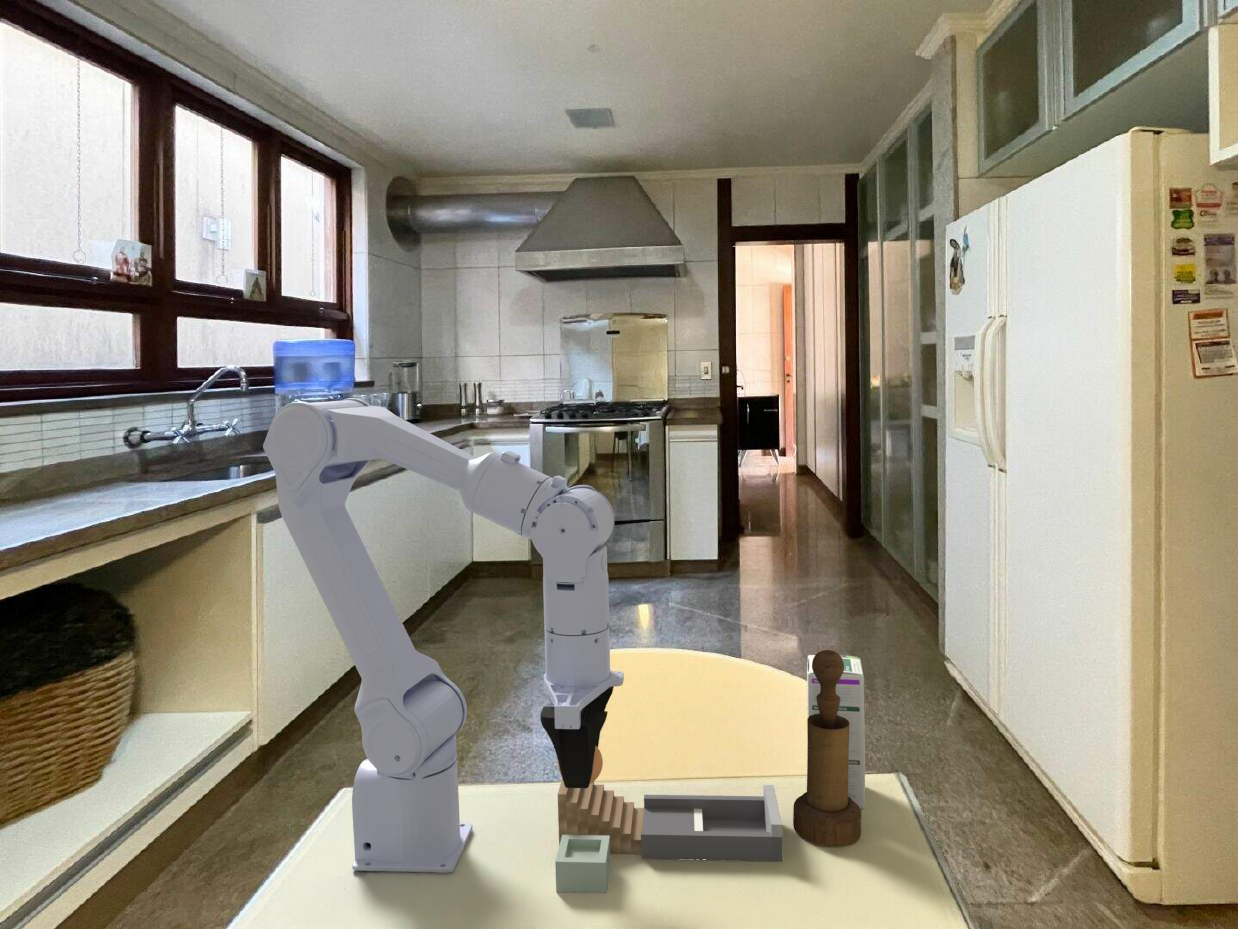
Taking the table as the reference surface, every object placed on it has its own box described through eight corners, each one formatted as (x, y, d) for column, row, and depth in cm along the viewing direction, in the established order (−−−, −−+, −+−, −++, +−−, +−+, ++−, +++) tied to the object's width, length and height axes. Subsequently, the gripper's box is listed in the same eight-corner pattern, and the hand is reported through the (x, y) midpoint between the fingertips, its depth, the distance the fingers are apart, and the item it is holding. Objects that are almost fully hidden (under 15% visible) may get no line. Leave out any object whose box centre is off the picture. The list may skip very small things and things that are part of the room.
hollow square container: (556, 892, 76) (555, 861, 76) (563, 863, 80) (562, 834, 80) (606, 893, 76) (605, 862, 75) (610, 864, 80) (609, 835, 80)
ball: (555, 794, 76) (554, 750, 75) (562, 773, 80) (560, 731, 79) (600, 795, 76) (599, 751, 75) (605, 774, 80) (604, 732, 79)
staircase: (559, 852, 82) (557, 794, 81) (567, 820, 88) (566, 765, 87) (641, 854, 81) (640, 795, 81) (644, 821, 87) (643, 766, 87)
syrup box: (866, 811, 89) (867, 673, 87) (807, 806, 90) (807, 670, 88) (862, 784, 94) (863, 655, 93) (806, 780, 95) (806, 652, 94)
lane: (641, 859, 81) (640, 822, 80) (644, 817, 88) (644, 783, 88) (782, 861, 80) (782, 824, 79) (773, 819, 87) (773, 785, 87)
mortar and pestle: (876, 837, 83) (878, 656, 82) (822, 855, 81) (823, 668, 79) (831, 807, 89) (832, 637, 88) (779, 822, 87) (779, 647, 85)
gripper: (615, 653, 69) (618, 816, 70) (628, 604, 83) (630, 740, 84) (527, 653, 69) (532, 814, 71) (555, 604, 84) (559, 739, 85)
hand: (580, 774), depth 78 cm, fingers closed on ball, 4 cm apart
